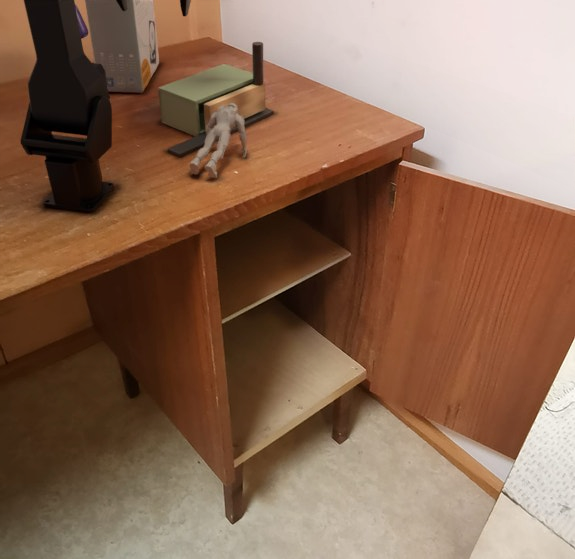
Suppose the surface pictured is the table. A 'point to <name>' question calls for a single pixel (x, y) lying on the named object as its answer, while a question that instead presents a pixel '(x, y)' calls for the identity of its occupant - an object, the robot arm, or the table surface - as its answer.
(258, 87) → the door
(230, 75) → the cabinet
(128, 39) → the hard drive box
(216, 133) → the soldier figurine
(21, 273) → the table surface
